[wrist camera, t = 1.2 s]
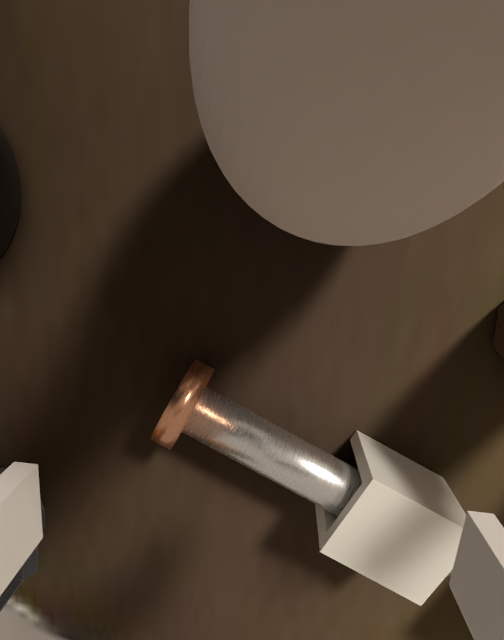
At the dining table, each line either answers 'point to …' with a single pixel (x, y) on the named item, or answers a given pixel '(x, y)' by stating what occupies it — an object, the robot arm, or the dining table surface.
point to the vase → (352, 110)
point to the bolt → (255, 442)
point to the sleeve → (394, 523)
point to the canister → (26, 570)
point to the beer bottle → (499, 331)
